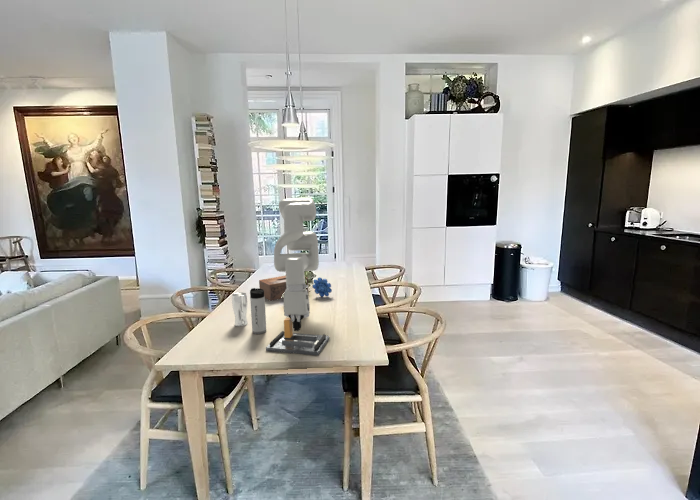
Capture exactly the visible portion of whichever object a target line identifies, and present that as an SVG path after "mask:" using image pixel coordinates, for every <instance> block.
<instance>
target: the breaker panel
mask: <svg viewBox="0 0 700 500" xmlns="http://www.w3.org/2000/svg"><path fill="white" fill-rule="evenodd" d="M293 335H294V339H293V340H286V339H284V337H285V334H283V335H282V336H281V337H280V338H279V339H278V340H277V341H276V342H275V343H274V344H273V345H272V346H270V343H268V345H266V347H265V351H266V352H277V353H285V354H287V353H288V354H295V355H297V354H298V355H306V356H308V355H310V356H320V354H321V352H322V351H323V349H324V347H325V346H326V344H327V343H328V342H329V340H330V335H326V337H325V339H324V340H323V341H322V343H321V344H320V346H319V347H318V348H317V349H316V350H315V349H314V347H315V345H316V344H317V343H318V341H319V340H320V338H321V337H322V336H323V335H324V334H323V335H322V334H311V333H310V334H309V333H301V332H300V333H299V332H293Z"/></svg>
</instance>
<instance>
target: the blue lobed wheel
mask: <svg viewBox="0 0 700 500" xmlns="http://www.w3.org/2000/svg"><path fill="white" fill-rule="evenodd" d="M311 286H312V289H314V293H315V294H316V295H319V296H320V297H321V298H323V297H329V295H330V293H332V292H333V291H332V284H331V283H330V282H328V279H327V278H322V277H317V279H314V280H313V284H312V285H311Z"/></svg>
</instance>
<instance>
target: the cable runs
mask: <svg viewBox="0 0 700 500" xmlns="http://www.w3.org/2000/svg"><path fill="white" fill-rule="evenodd" d="M283 334H284V330H282V331H281V332H280V333H278V334H277V336H275V337H274V338H273V339H272V340H271V341H270V342H269V344H270V346H272V345H273V344H274V343H275V342H276V341H277V340H278V339H279V338H280V337H281V336H282V335H283ZM326 336H327V334H325V333H324V334H323V336H322V337H321V338H320V340H319V341H318V343H317V344H316V345H315V347H314V349H315V350H316V349H317V348H318V347H319V346H320V344H321V343H322V341H323V340H324V339H325V337H326Z"/></svg>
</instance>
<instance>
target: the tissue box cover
mask: <svg viewBox="0 0 700 500" xmlns="http://www.w3.org/2000/svg"><path fill="white" fill-rule="evenodd" d="M305 277H306V279H307V285H308V286H309V278H308V277H307V276H305ZM258 282H259V289H263V290H264V298H265V299H266V300H267V299H268V301H269V300H270V301H269V302H273V301H277V299H278V300H281V296H282V294H283V293H284V292H285V290H286V275H281V276H275V277H268V278H264V279H263V278H262V279H258ZM307 292H308V293H309V287H308V288H307ZM272 300H273V301H272Z"/></svg>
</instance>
